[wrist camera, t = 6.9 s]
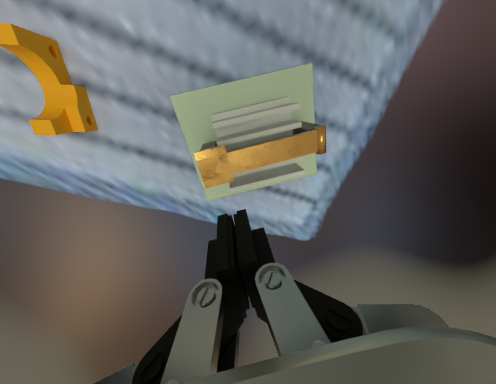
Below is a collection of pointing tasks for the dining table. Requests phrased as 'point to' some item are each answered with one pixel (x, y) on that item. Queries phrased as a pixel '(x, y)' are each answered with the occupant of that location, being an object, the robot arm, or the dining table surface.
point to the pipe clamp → (50, 83)
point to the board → (242, 96)
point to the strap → (256, 155)
